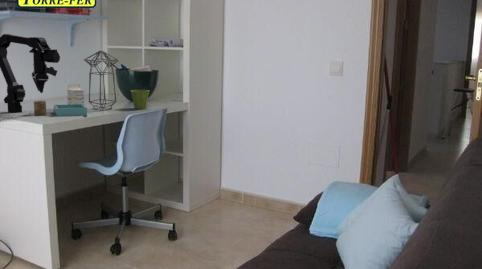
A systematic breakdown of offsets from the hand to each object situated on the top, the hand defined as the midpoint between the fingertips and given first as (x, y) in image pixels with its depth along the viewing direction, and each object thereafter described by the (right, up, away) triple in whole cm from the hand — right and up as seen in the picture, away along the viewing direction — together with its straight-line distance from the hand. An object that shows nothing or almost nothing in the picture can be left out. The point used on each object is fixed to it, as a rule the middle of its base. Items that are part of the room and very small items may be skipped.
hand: (40, 91), depth 251 cm
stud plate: (-1, -13, +2) cm, 13 cm away
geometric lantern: (+22, -8, +36) cm, 43 cm away
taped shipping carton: (-1, -12, +2) cm, 12 cm away
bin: (+13, -12, +9) cm, 19 cm away
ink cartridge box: (+7, -7, +34) cm, 35 cm away
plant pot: (+43, -7, +45) cm, 63 cm away
